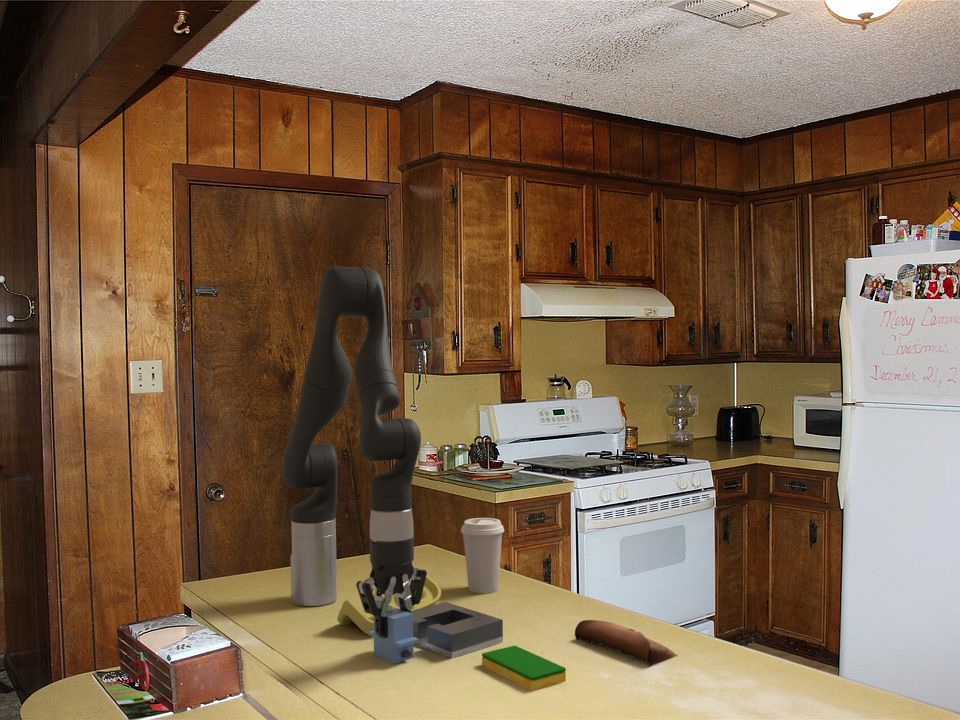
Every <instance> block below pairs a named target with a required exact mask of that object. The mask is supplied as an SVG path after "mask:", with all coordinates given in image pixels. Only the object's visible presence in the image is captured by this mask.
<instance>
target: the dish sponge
mask: <svg viewBox="0 0 960 720" xmlns="http://www.w3.org/2000/svg"><path fill="white" fill-rule="evenodd" d="M481 666H482V667H484V668H486V669H488V670H490V671H492V672H494V673H496V674H498V675H500V676H502V677H504V678H506V679H507V680H510V681H512V682H514V683H516V684H518V685H520V686H521V687H523V686H524V688H526V689H527V688H528V689H527V690H529V689H530V691H535V689H536V690H539V689H543V688H545V687H549V685H550V686H553V685H555V683H556V684H560V683H562V682H566V679H567V676H566V675H567V667H564V666H562V665H560V664H558V663H555V662H553V661H552V660H548V659H547V658H544V657H542V656H540V655H537V654H535V653H533V652H531V651H528V650H526V649H524V648H523V647H520V646H517V645H511V646H507V647H504V648H498V649H495V650H490V651H485V652H482V653H481ZM559 682H560V683H559ZM552 684H553V685H552ZM542 687H543V688H542Z"/></svg>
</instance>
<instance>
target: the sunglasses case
mask: <svg viewBox="0 0 960 720" xmlns="http://www.w3.org/2000/svg"><path fill="white" fill-rule="evenodd" d="M574 637H575V639H576V640H577V639H578V640H582V641H586V642H589V643H594V644H597V645H598V644H599V645H601V646H603V647H606V648H609V649H611V650H614V651H618V652H620V653H621V654H624V655H627V656H630V657H633V658H635V659H638V660H640V661H642V662H644V663H648V665H649V666H654V665H658V664H659V663H662V662H665V661H668V660H671V659H673V658H675V657H678V654H676V653H675V651H673V650H671V649H670V648H668V647H667V646H665V645H663V644H661V643H660V642H659V643H658V641H655V640H653V639H650V638H648V637H646V636H645V635H644V634H643V632H641V631H636V630H635V629H633V628H628V627H625V626H622V625H619V624H616V623H613V622H609V621H605V620H598V619H584V620H581V621H579V622H578V623H577V625H576V627H575V630H574Z"/></svg>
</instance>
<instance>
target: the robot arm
mask: <svg viewBox="0 0 960 720" xmlns="http://www.w3.org/2000/svg"><path fill="white" fill-rule="evenodd" d="M341 316H343V317H364V318H365V320H366V321H365V322H366V326H367V332H366V335H365V337H364V340H363V342H362V345H361V347H360V349H359V351H358V354H357V356H356V359H355V361H354V368H353V369H354V371H353V370H352V367H351V363H350V361H349V359H348V356H347V355H346V352H345V350H344V348H343V346H342V343H341V341H340V340H339V336H338V329H337V328H338V321H339V318H340V317H341ZM388 329H389V328H388V317H387V307H386V299H385V291H384V286H383V281H382V279H381V276H380V274H379V273H378V271H377V270H375V269H373V268H369V267H355V266H340V265H338V266H337V265H335V266H330V267H328V268H327V269H326V270H325V272H324V274H323V276H322V279H321V283H320V286H319V294H318V301H317V308H316V316H315V323H314V331H313V337H312V342H311V347H310V350H309V351H310V352H309V355H308V359H307V363H306V367H305V371H304V375H303V380H302V384H301V389H300V396H299V401H298V404H297V409H296V411H297V412H296V413H295V418H294V422H293V424H292V429H291V431H290V435H289V438H288V441H287V443H286V448H285V450H284V454H283V458H282V465H281V467H282V468H281V469H282V470H281V473H282V474H281V475H282V480H283V482H284V484H285V485H286V486H287V487H289V489H311V488H315V490H314V491H313V493H312V494H311V495H310V496H309V497H307V498H306V499H305V500H303V501H301V502H297V504H295V505H293V507H292V508H291V512H290V517H291V518H290V520H291V555H290V592H291V593H290V595H291V600H292V603H293V604H294V605H297V606H301V607H316V606H317V607H318V606H325V605H329V604H331V603H334V602H336V601H337V599H338V591H337V590H338V587H337V586H338V585H337V582H338V581H337V580H338V578H337V571H338V570H337V530H336V529H337V528H336V527H337V523H336V522H337V521H336V519H337V518H336V515H337V514H336V510H337V504H338V476H339V473H338V471H339V470H338V469H339V467H338V466H339V463H338V454H337V452H336V451H337V450H336V449H335V447H334V446H333V445H332V444H331V443H329V442H315V443H314V441H315V439H316V437H317V436H318V435H319V433H320V432H321V431H322V430H323V429H324V428H325V427H326V426H327V425H329V423H330V422H331V421H332V420H333V419H334V418H335V417H336V416H337V415H338V414H339V412H340V411H341V410H342V409H343V407H344V405H345V404H346V401H347V398H348V395H349V391H350V387H351V383H352V379H353V374H354V379H355V381H354V382H355V384H356V390H357V394H358V399H359V403H360V427H359V438H358V445H359V450H360V451H361V454H362V455H363V456H364V458H365V459H367V460H369V461H371V462H382V461H395V462H394V464H393V466H392V467H391V469H389V470H387V471H385V472H382V473H380V474H376V475H375V476H373V477H372V478H371V480H370V488H369V489H370V517H369V561H370V564H371V572H370V574H369V577H368V578H366V579H364V580H363V581H361V580H358V581H357V582H356V583H355V584H356V585H355V586H356V589H357V592H358V595H359V599H360V602H361V604H362V606H363V608H364V611H365V612H366V613H369V614H372V615H374V616H375V632H376V634H377V635H378V637H381V638H383V639H384V638H387V637H388V617H387V616H386V615H387V611H388V605H389V603H391V599H392V595H394V594H395V596H396V597H397V601H398V605H399V607H400V609H399V610H402V611H405V612H409V613H411V609H412V607H413V606H414V605H415V604H419V603H420V601H421V596H422V592H423V588H424V584H425V580H426V575H428V572H427V570H425V569H421V568H418V567H414V565H413V562H414V559H415V551H414V549H415V543H414V539H415V538H414V534H415V532H414V518H413V509H412V500H413V499H412V483H413V478H414V474H415V473H414V472H415V468H416V464H417V461H418V457H419V454H420V449H421V445H422V444H421V443H422V442H421V441H422V434H421V430H420V428H419V425H418V423H416V421H415V420H413V419H412V418H407V417H406V418H386V419H381V418H380V416H382V415H386V414H388V413H391V412H393V411H395V410H396V409H397V408H398V407H399V405H400V404H401V395H400V390H399V387H398V382H397V379H396V375H395V371H394V368H393V363H392V359H391V351H390V343H389V330H388ZM353 372H354V373H353ZM409 582H410V586H409ZM374 587H375V588H374ZM415 591H416V592H415ZM373 592H374V593H373ZM414 595H415V596H414Z"/></svg>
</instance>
